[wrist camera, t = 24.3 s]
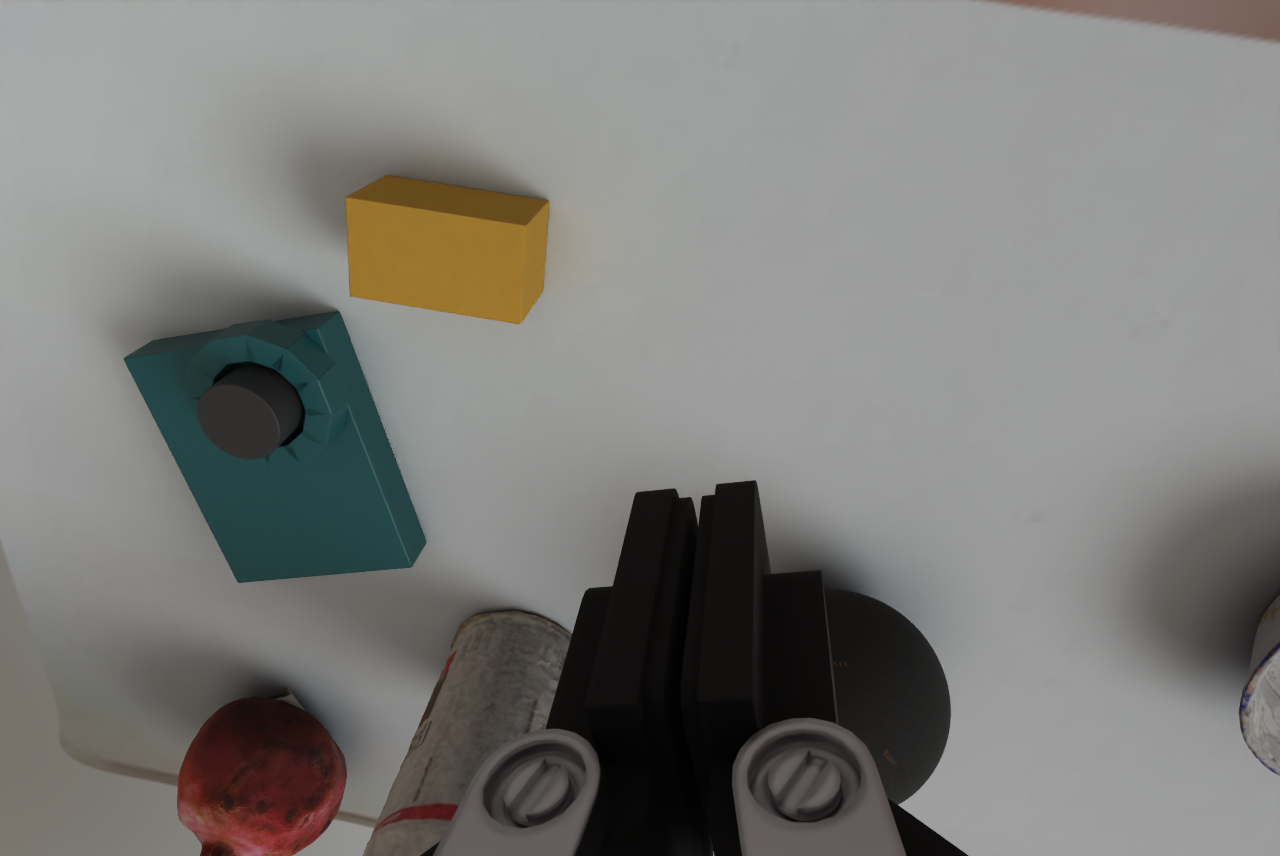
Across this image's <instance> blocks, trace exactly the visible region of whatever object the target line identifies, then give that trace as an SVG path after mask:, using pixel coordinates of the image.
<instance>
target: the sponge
mask: <svg viewBox="0 0 1280 856" xmlns="http://www.w3.org/2000/svg"><path fill="white" fill-rule="evenodd" d="M345 199H346V220H347V242H348V263H349V285H350V296H352V297H358V298H364V299H370V300H376V301H382V302H388V303H394V304H400V305H406V306H412V307H418V308H424V309H430V310H436V311H442V312H449V313H455V314H461V315H467V316H473V317H479V318H485V319H491V320H497V321H503V322H509V323H515V324H521V323H522V321H523V320H524V318H525V317H526V315H527V314H528V312H529V311H530V309H531V308H532V307H533V305H534V304H535V302H536V301H537V299H538V298H539V296H540V295H541V293H542V292H543V286H544V272H545V257H546V243H547V229H548V215H549V201H548V200H542V199H536V198H529V197H523V196H517V195H510V194H504V193H497V192H491V191H485V190H478V189H472V188H466V187H459V186H453V185H446V184H440V183H434V182H427V181H421V180H415V179H408V178H402V177H396V176H389V175H386V176H384V177H382V178H380V179H378V180H376V181H374V182H373V183H371V184H369V185H367V186H365V187H363V188H361V189H360V190H358V191H356V192H354V193H352V194H350V195H349V196H347V197H346V198H345Z"/></svg>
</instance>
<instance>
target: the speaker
mask: <svg viewBox="0 0 1280 856" xmlns="http://www.w3.org/2000/svg"><path fill="white" fill-rule="evenodd" d="M824 595H825V603H826V611H827V620H828V628H829V637H830V646H831V655H832V664H833V673H834V683H835V692H836V702H837V712H838V722H839V726H841V727H843V728H845V729H847V730H849V731H851V732H852V733H853V734H854V735H855V736H856V737H857V738H859V739H860V740H861V741H862V742H863V743H864V744H865V745H866V747H867V748H868V750H869V752H870V754H871V756H872V757H873V759H874V761H875V763H876V766H877V769H878V772H879V775H880V778H881V781H882V784H883V787H884V790H885V793H886V796H887V798H888V799H890V800H891V801H893V802H894V803H895V804H897V805H899V804H900V803H902V802H903V801H905V800H906V799H908V798H909V797H911V796H912V795H913V794H914V793H915V792H916V791H918V790H919V789H920V788H921V787H922V786H923V784H924V783H925V782H926V781H927V780H928V778H929V777H930V776H931V774H932V773H933V771H934V770H935V768H936V766H937V765H938V763H939V761H940V759H941V756H942V754H943V752H944V749H945V746H946V742H947V739H948V734H949V728H950V718H951V706H950V696H949V690H948V685H947V681H946V678H945V674H944V671H943V669H942V666H941V664H940V662H939V660H938V658H937V656H936V654H935V652H934V650H933V649H932V647H931V645H930V644H929V642H928V641H927V640H926V638H925V637H924V636H923V634H922V633H921V632H920V631H919V630H918V629H917V628H916V627H915V626H914V625H913V624H912V623H911V622H910V621H909V620H908V619H907V618H906V617H904V616H903V615H902V614H901V613H899V612H898V611H896V610H895V609H893V608H892V607H890V606H888V605H887V604H885V603H883V602H881V601H879V600H876V599H874V598H871V597H869V596H866V595H862V594H859V593H854V592H849V591H841V590H824Z"/></svg>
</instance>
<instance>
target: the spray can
mask: <svg viewBox="0 0 1280 856" xmlns="http://www.w3.org/2000/svg"><path fill="white" fill-rule="evenodd" d="M571 637H572V635H571V634H570V633H568V632H566V631H565V630H564V629H563V628H562V627H559V626H558V625H554V624H553V623H552V622H549V621H547V620H546V619H544V618H541V617H539V616H535V615H530V614H525V613H523V612H519V611H518V612H517V611H509V612H501V613H500V612H494V613H487V614H481V615H476V616H474V617H472V618H470V619H469V620H467V621H466V622H465V623H463V624H462V625H460V628H459V630H458V632H457V634H456V636H455V638H454V640H453V643H452V645H451V653H450V655H449V657H448V659H447V662H446V664H445V667H444V669H443V671H442V673H441V675H440V678H439V680H438V682H437V684H436V686H435V688H434V691H433V693H432V696H431V698H430V700H429V703H428V706H427V708H426V710H425V713H424V715H423V717H422V719H421V722H420V724H419V727H418V729H417V731H416V733H415V735H414V737H413V739H412V741H411V744H410V747H409V751H408V753H407V755H406V757H405V759H404V761H403V763H402V765H401V767H400V771H399V773H398V775H397V777H396V779H395V781H394V782H393V785H392V788H391V790H390V793H389V796H388V799H387V801H386V803H385V805H384V808H383V810H382V812H381V814H380V816H379V818H378V821H377V823H376V826H375V828H374V831H373V834H372V837H371V839H370V840H369V842H368V844H367V846H366V849H365V851H364V854H363V856H420V855H421V854H423V853H424V852H426V851H427V850H428V849H430V848H431V847H432V846H434V845H435V844H437V843H438V842H439V841H441V839H442V837H443V835H444V833H445V831H446V829H447V828H448V826H449V824H450V822H451V820H452V818H453V816H454V814H455V812H456V810H457V808H458V807H459V805H460V803H461V801H462V799H463V797H464V795H465V793H466V791H467V789H468V787H469V785H470V784H471V782H472V780H473V778H474V776H475V774H476V773H477V771H478V770H479V769H480V767H481V766H482V764H483V763H484V761H485V760H486V759H487V758H488V757H489V756H490V755H491V754H492V753H494V752H495V751H496V750H497V749H498V748H499V747H500V746H501V745H503V744H505V743H507V742H509V741H510V740H512V739H514V738H516V737H518V736H519V735H522V734H526V733H529V732H533V731H536V730H541V729H545V728H546V724H547V721H548V717H549V714H550V710H551V707H552V703H553V700H554V696H555V693H556V689H557V686H558V682H559V679H560V675H561V672H562V668H563V665H564V661H565V658H566V654H567V651H568V647H569V644H570V640H571Z"/></svg>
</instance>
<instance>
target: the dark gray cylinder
mask: <svg viewBox="0 0 1280 856" xmlns="http://www.w3.org/2000/svg"><path fill="white" fill-rule="evenodd" d="M197 414H198V420H199V423H200V425H201V428H202V430H203V431H204V433H205V435H206V436H207V437H208V439H209V440H210V441H211V442H212V443H213V444H214V445H215V446H216V447H218V448H219V449H220V450H222V451H223V452H225V453H227V454H229V455H231V456H234V457H237V458H240V459H246V460H255V459H260V458H263V457H266V456H268V455H269V454H271V453H272V452H273V451H274V450H275V449H276V448H277V447H278V446H279V445H280V444H281V443H282V442H283V441H284V440H285V439H286V438H287V437H288V436H289V435H290V434H291V433H292V432H293V431H294V430H295V429H296V428H297V427H298V425H299V423H300V421H301V417H302V405H301V401H300V398H299V396H298V394H297V392H296V390H295V389H294V387H293V386H292V385H291V383H290V382H289V381H288V380H286V379H285V378H284V377H283V376H282V375H281V374H279V373H278V372H276V371H274V370H272V369H270V368H267V367H264V366H259V365H245V366H241V367H238V368H236V369H234V370H233V371H231V372H230V373H229V374H227V375H226V376H225V377H223V378H222V379H221V380H219V381H218V382H217V383H215V384H214V385H213V386H211V387H210V388H209V389H208V390H206V391H205V392H204V393H203V395H202V396H201V398H200V400H199V403H198V408H197Z"/></svg>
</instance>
